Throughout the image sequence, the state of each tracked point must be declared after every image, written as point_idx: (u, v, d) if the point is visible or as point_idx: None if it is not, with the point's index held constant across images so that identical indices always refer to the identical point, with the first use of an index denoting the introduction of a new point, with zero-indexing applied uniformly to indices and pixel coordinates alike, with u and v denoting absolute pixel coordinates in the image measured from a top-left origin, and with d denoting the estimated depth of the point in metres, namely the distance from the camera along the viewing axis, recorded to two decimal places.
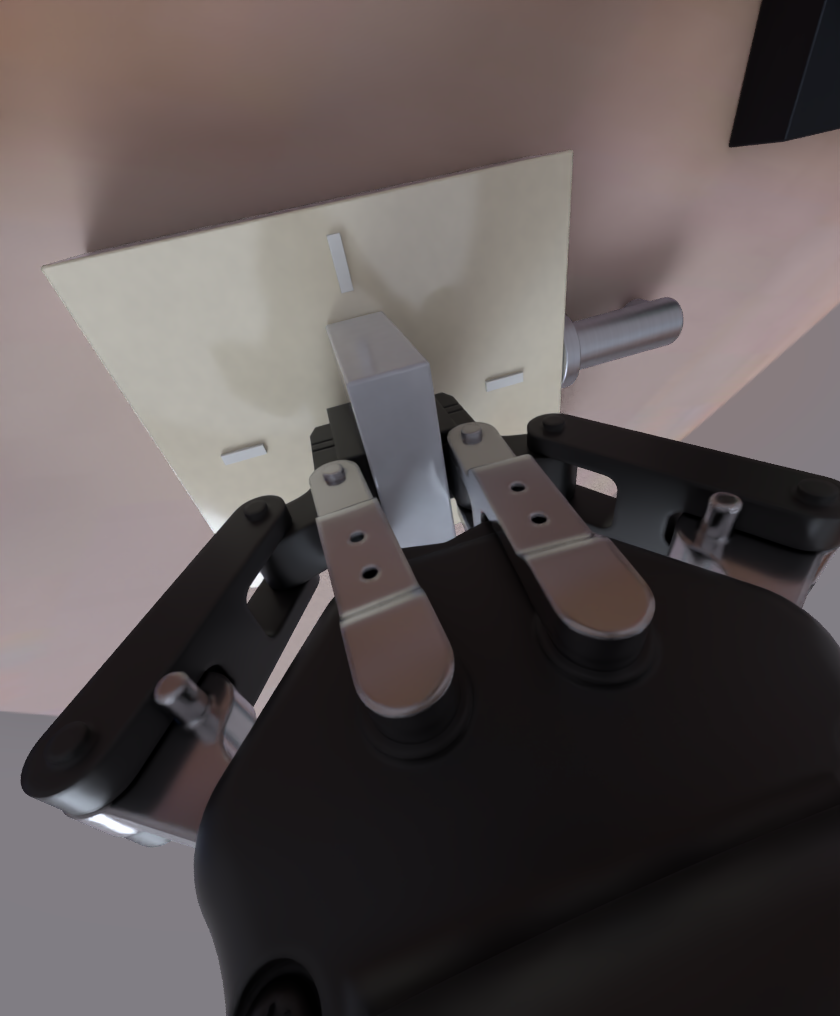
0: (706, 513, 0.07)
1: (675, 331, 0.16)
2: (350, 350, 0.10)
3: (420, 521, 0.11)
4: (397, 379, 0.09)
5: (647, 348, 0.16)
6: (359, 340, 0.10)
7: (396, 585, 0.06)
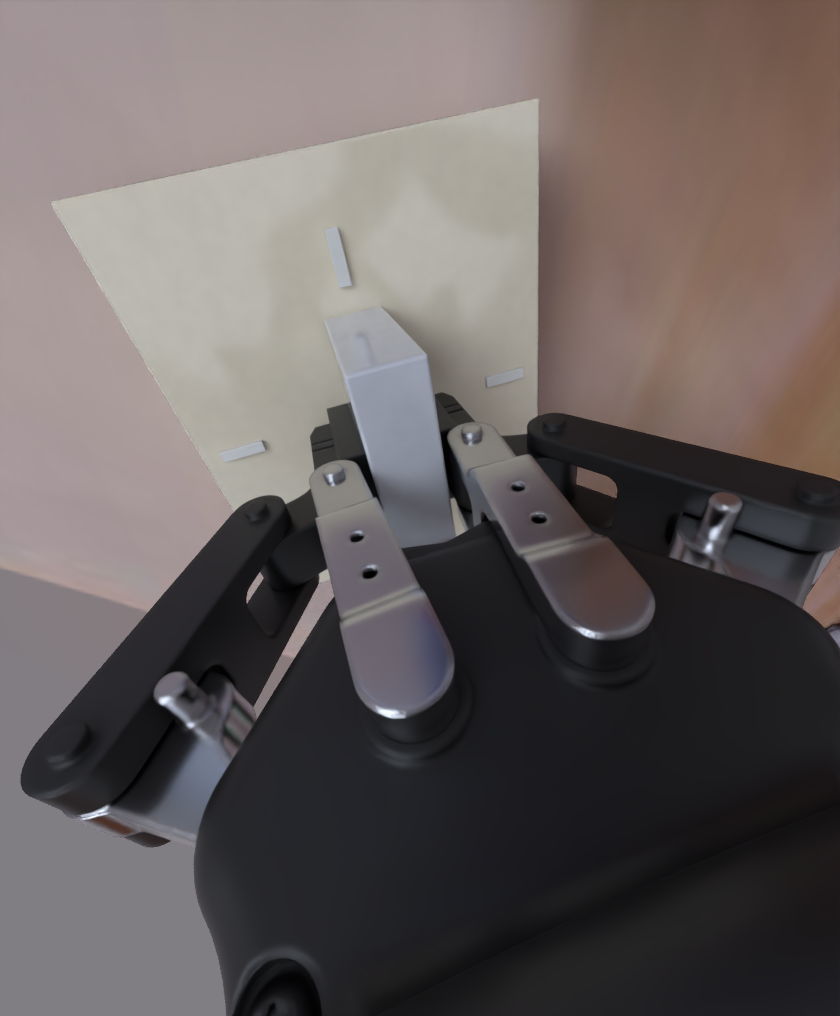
0: (706, 513, 0.07)
1: None
2: (349, 344, 0.10)
3: (419, 517, 0.11)
4: (396, 371, 0.08)
5: None
6: (358, 334, 0.10)
7: (396, 585, 0.06)
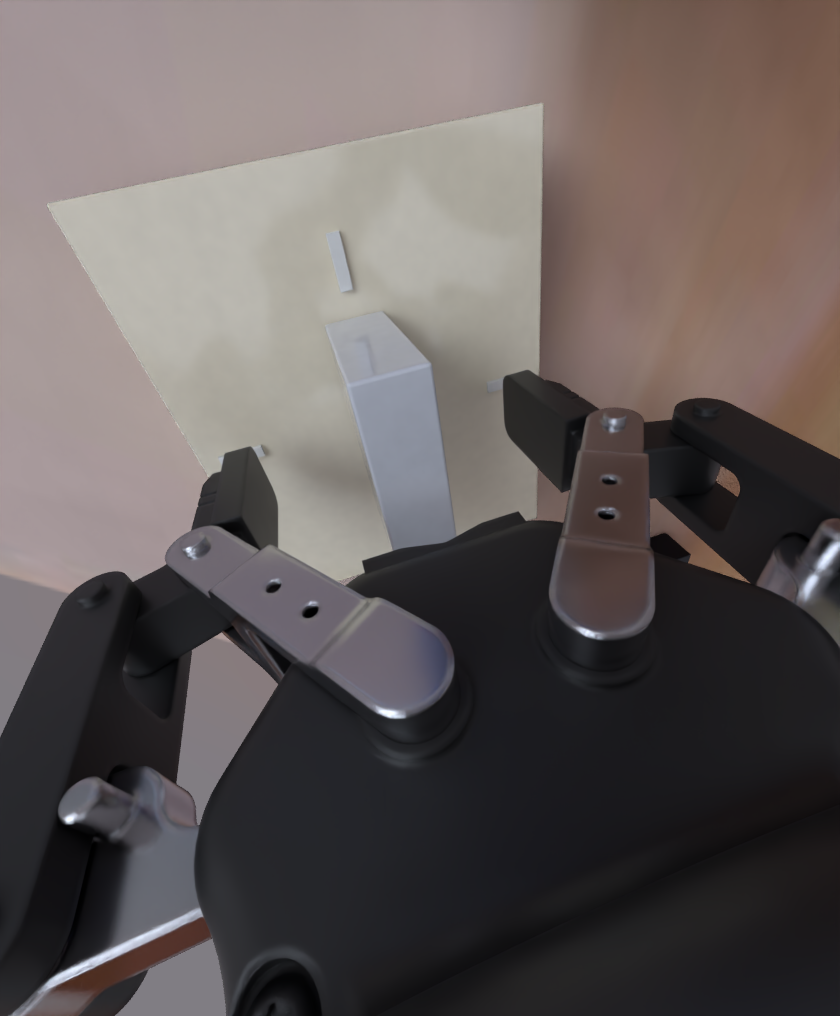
0: (813, 536, 0.07)
1: None
2: (350, 350, 0.10)
3: (421, 525, 0.11)
4: (399, 380, 0.08)
5: None
6: (360, 340, 0.10)
7: (345, 608, 0.06)
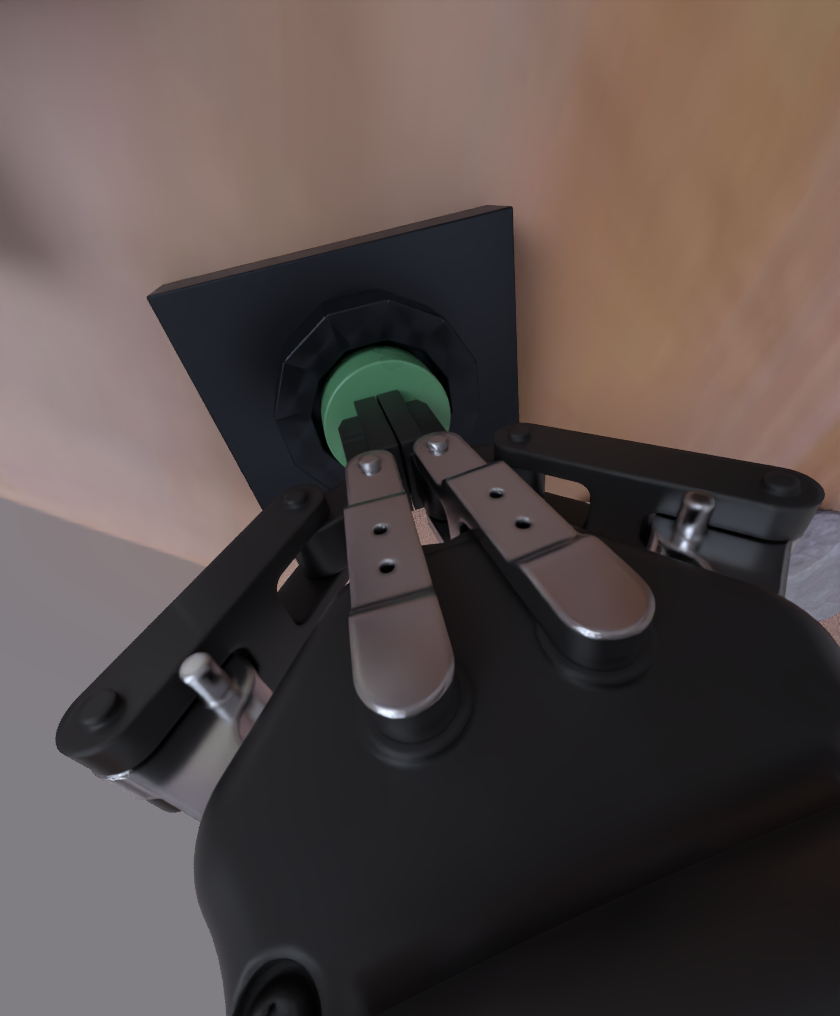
0: (681, 513, 0.07)
1: None
2: None
3: None
4: None
5: None
6: None
7: (410, 583, 0.06)
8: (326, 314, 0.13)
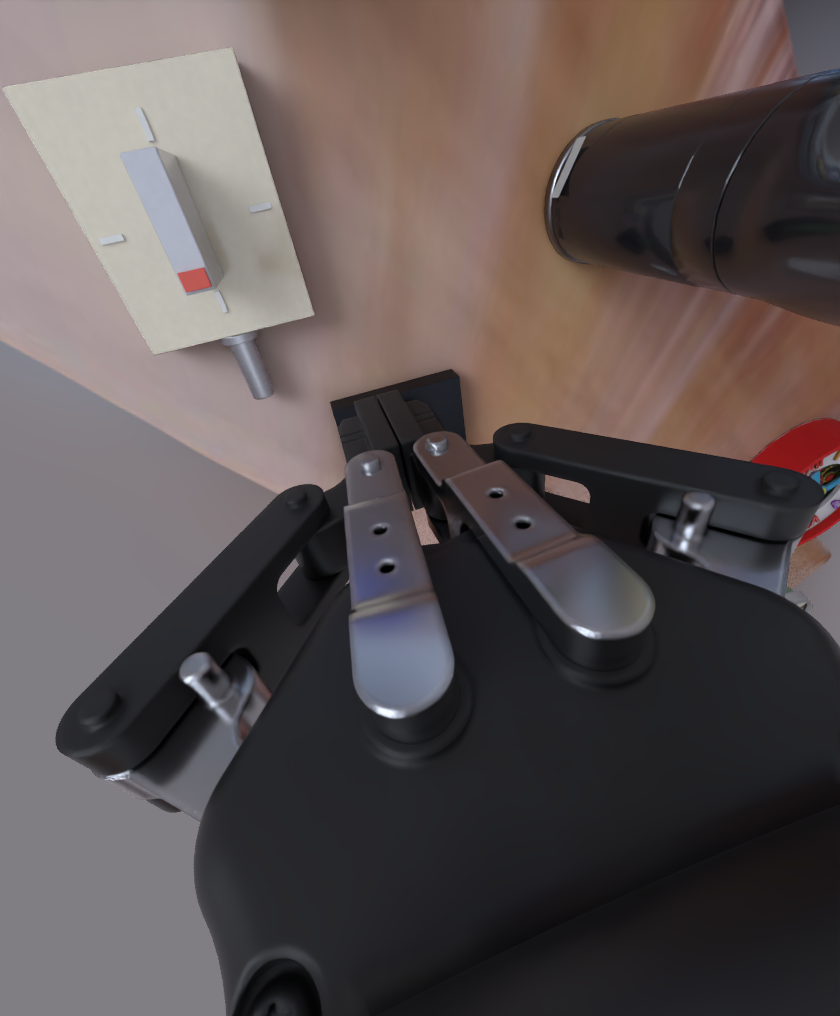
0: (681, 513, 0.07)
1: (261, 395, 0.34)
2: None
3: (179, 245, 0.23)
4: (142, 153, 0.21)
5: (250, 385, 0.34)
6: None
7: (410, 583, 0.06)
8: None
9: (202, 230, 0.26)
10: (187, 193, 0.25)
